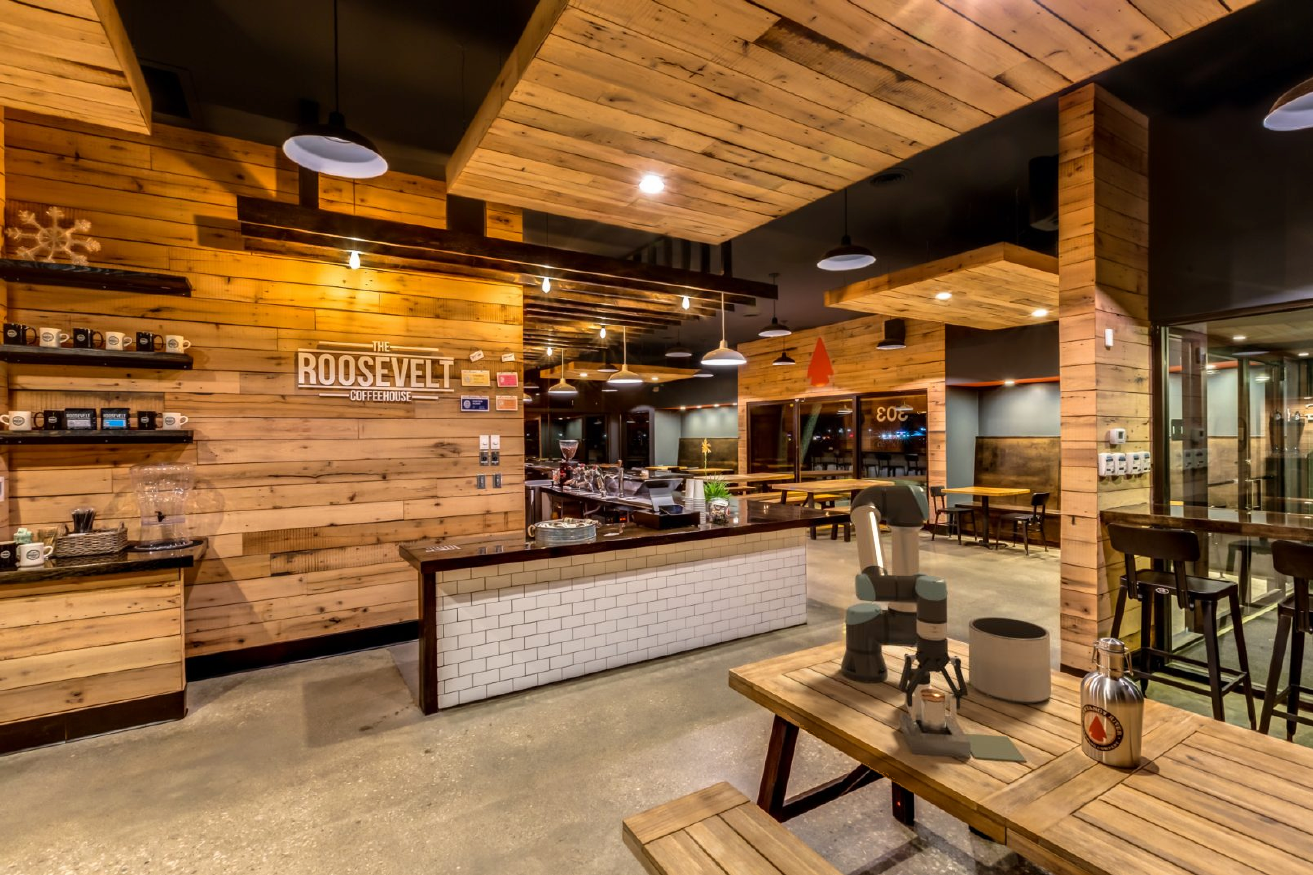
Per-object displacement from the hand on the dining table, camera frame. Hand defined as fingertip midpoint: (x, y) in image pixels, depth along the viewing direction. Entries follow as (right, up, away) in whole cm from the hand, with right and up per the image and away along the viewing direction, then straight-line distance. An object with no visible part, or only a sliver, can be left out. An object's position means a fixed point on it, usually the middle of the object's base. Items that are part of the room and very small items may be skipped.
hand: (933, 719), depth 160 cm
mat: (+14, -6, -3) cm, 15 cm away
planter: (+38, -5, +31) cm, 49 cm away
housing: (0, -6, 0) cm, 6 cm away
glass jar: (0, -6, 0) cm, 6 cm away
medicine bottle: (+5, -6, +19) cm, 20 cm away
